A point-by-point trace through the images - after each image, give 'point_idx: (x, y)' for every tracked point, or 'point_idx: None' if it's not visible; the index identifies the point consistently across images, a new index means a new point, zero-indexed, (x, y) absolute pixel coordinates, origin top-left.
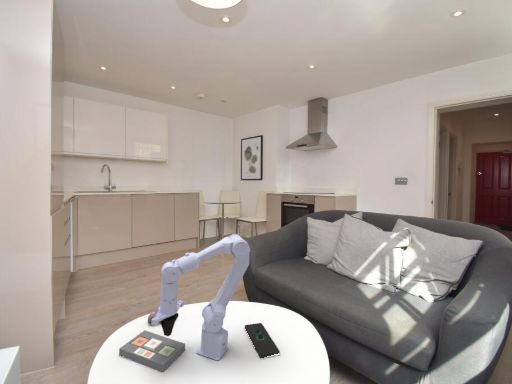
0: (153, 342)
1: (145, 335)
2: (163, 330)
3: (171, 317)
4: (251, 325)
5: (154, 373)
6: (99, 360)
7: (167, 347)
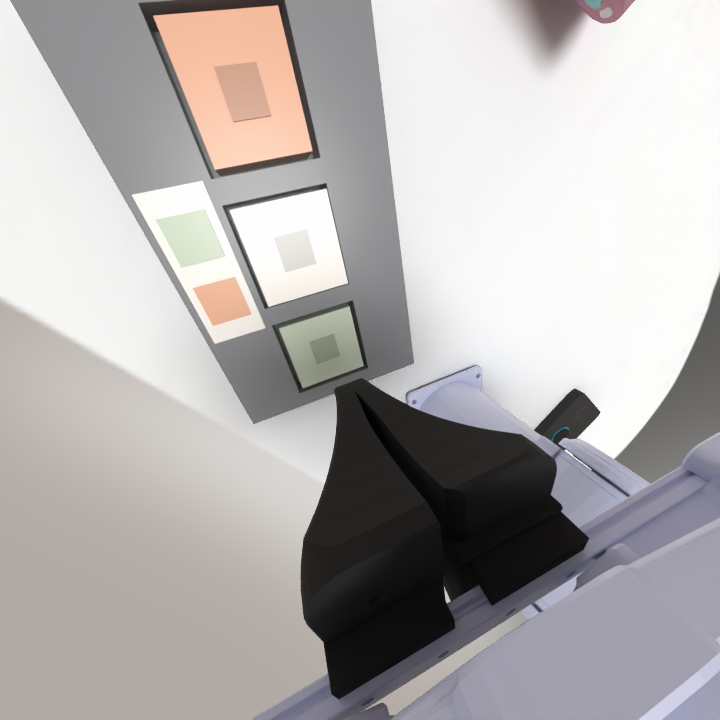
0: (301, 244)
1: (322, 54)
2: (338, 413)
3: (447, 577)
4: (585, 406)
5: (220, 386)
6: None
7: (344, 328)
